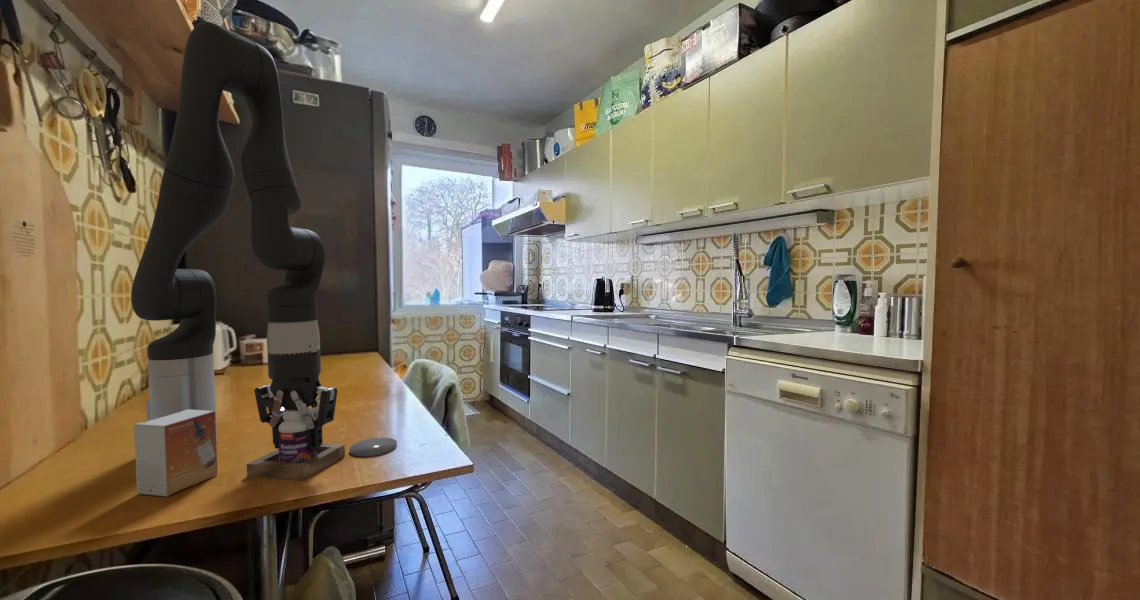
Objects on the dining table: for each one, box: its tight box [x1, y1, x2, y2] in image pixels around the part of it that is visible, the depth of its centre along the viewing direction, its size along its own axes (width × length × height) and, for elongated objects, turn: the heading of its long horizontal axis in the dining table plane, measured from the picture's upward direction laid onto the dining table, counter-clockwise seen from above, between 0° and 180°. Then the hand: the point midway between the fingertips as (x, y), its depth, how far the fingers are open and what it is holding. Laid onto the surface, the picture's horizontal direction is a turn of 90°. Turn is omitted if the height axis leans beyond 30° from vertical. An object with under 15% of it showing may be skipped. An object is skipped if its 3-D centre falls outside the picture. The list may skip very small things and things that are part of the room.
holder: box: [246, 442, 346, 481], centre depth 77 cm, size 10×10×2 cm
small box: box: [133, 409, 218, 497], centre depth 70 cm, size 8×6×10 cm
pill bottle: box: [278, 406, 317, 463], centre depth 77 cm, size 5×5×10 cm
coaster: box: [349, 437, 398, 458], centre depth 85 cm, size 8×8×1 cm
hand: (298, 447), depth 77 cm, fingers open, 5 cm apart
